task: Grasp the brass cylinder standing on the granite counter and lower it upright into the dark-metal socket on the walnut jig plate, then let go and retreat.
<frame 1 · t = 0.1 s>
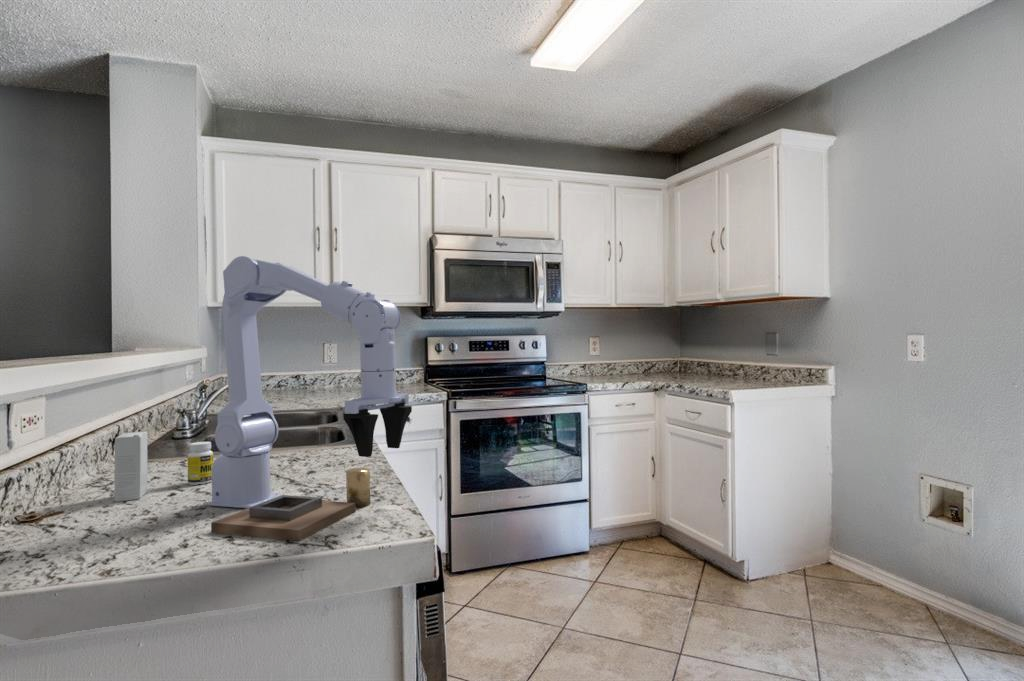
hand: (379, 451, 92), 10 cm above the counter, fingers open, 7 cm apart
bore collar: (286, 507, 87), on the jig plate, point 2 cm above the counter
jig plate: (287, 521, 87), on the counter
skincare box: (132, 498, 105), on the counter
supplement bottle: (200, 483, 116), on the counter
brass cylinder: (358, 504, 96), on the counter
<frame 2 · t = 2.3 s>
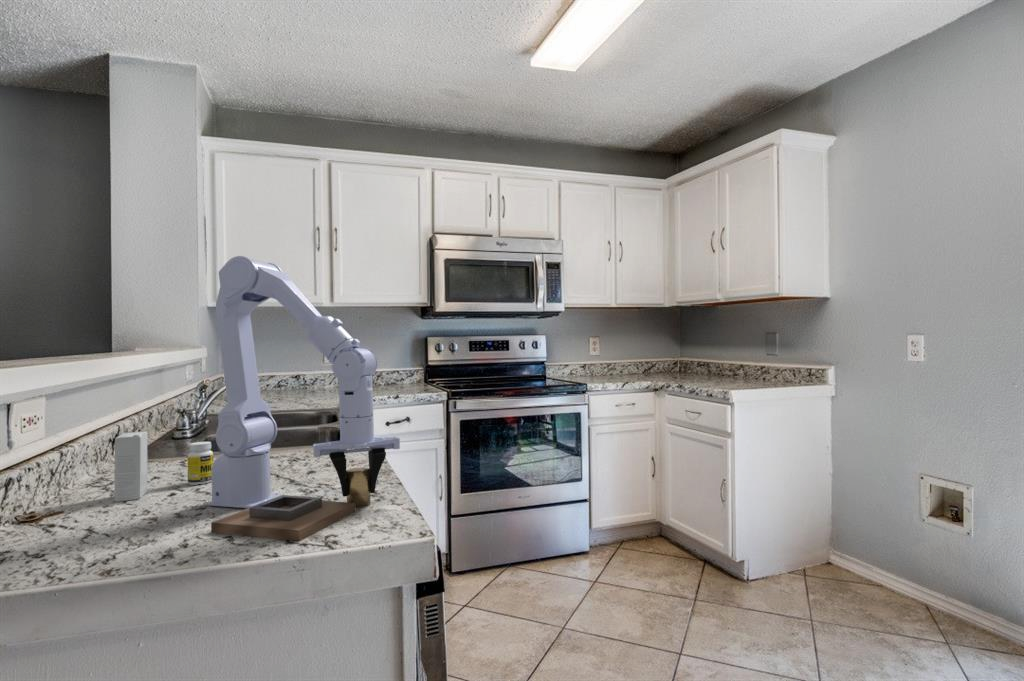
hand: (358, 493, 96), 2 cm above the counter, fingers closed on brass cylinder, 4 cm apart
brass cylinder: (358, 504, 96), on the counter, touching gripper
everything else where it was.
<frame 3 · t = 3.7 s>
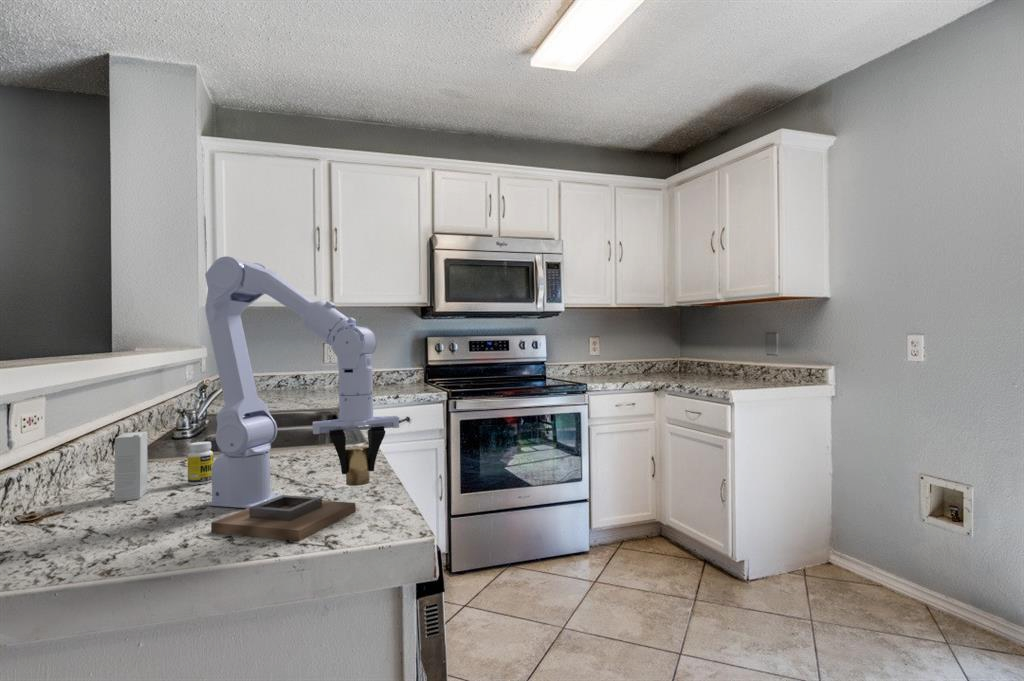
hand: (357, 471, 96), 6 cm above the counter, fingers closed on brass cylinder, 4 cm apart
brass cylinder: (358, 482, 96), point 4 cm above the counter, touching gripper
everything else where it was.
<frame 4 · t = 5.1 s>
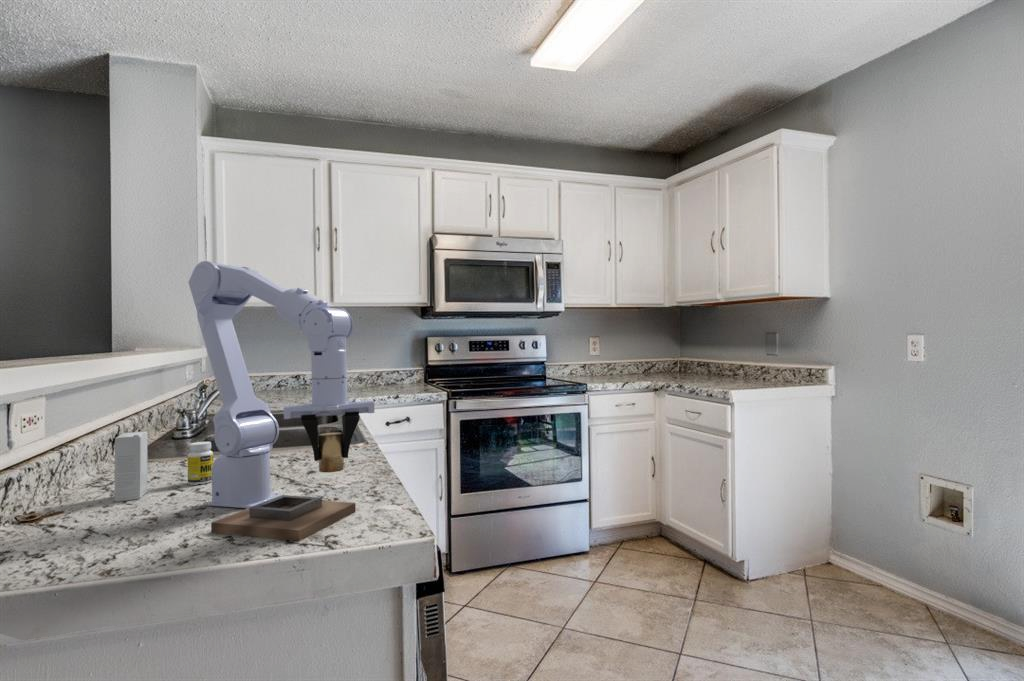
hand: (331, 458, 93), 9 cm above the counter, fingers closed on brass cylinder, 4 cm apart
brass cylinder: (331, 469, 93), point 7 cm above the counter, touching gripper
everything else where it was.
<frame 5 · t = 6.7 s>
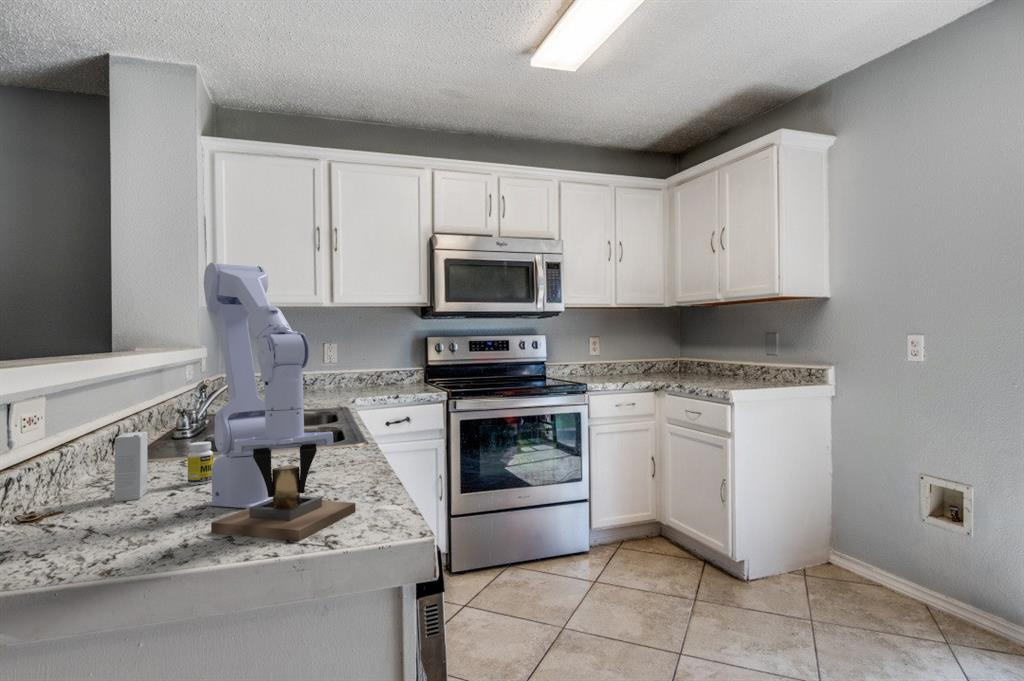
hand: (286, 493, 87), 4 cm above the counter, fingers closed on brass cylinder, 4 cm apart
brass cylinder: (286, 506, 87), point 2 cm above the counter, touching gripper
everything else where it was.
when the fingers open (4 cm above the counter, at t = 8.0 s): brass cylinder stays where it is, resting on jig plate.
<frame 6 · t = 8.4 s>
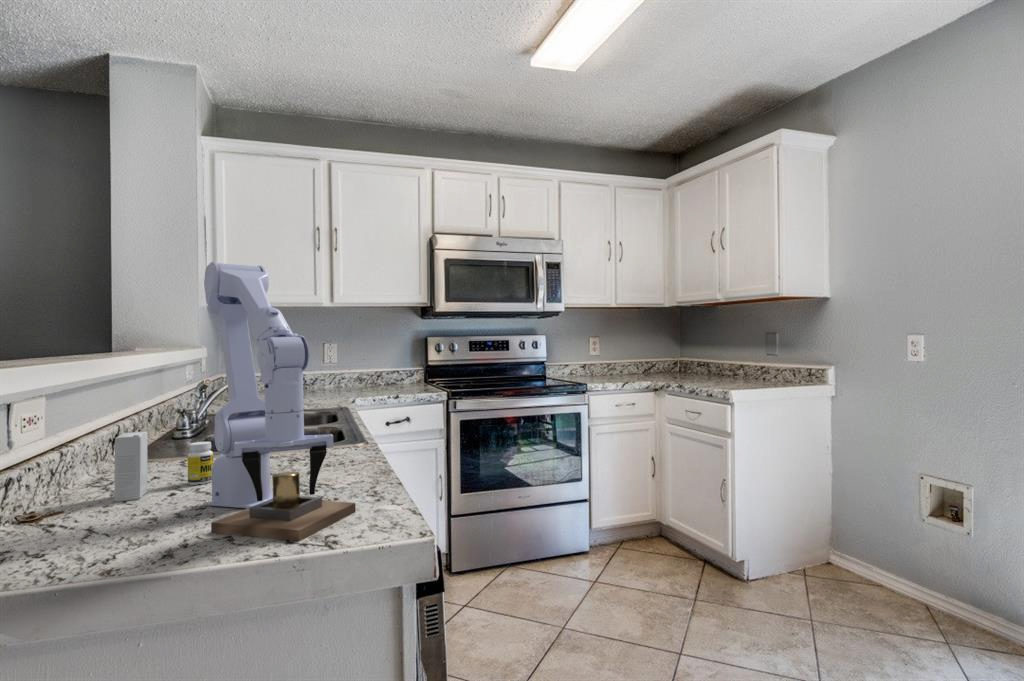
hand: (286, 496, 87), 4 cm above the counter, fingers open, 7 cm apart
brass cylinder: (286, 512, 87), point 2 cm above the counter, touching jig plate
everything else where it was.
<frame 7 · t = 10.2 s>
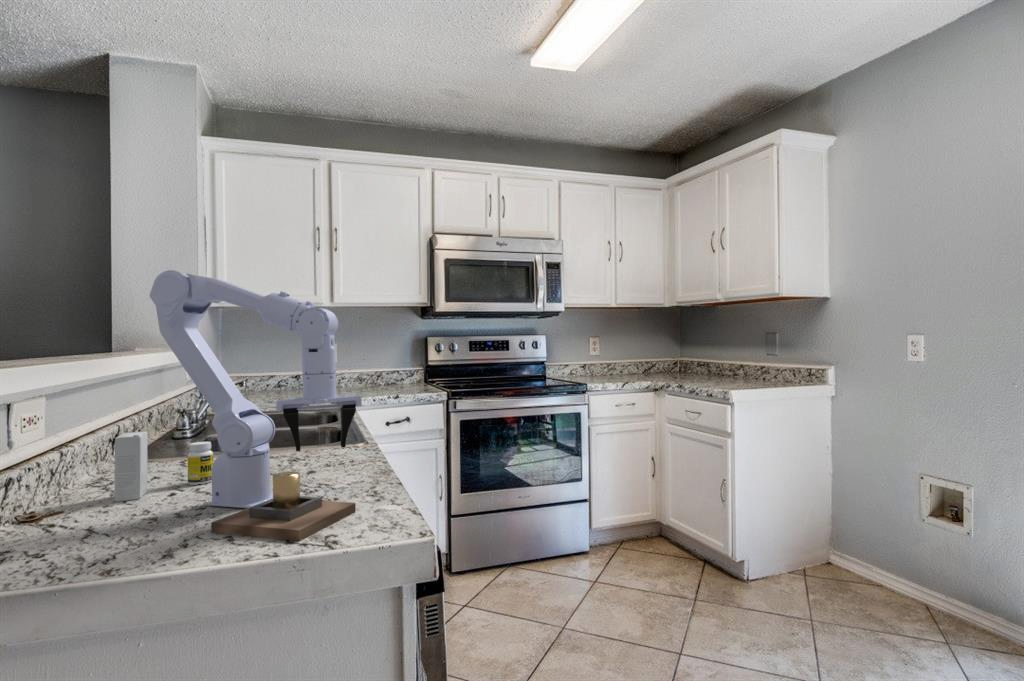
hand: (321, 448, 99), 9 cm above the counter, fingers open, 7 cm apart
nothing on the counter moved.
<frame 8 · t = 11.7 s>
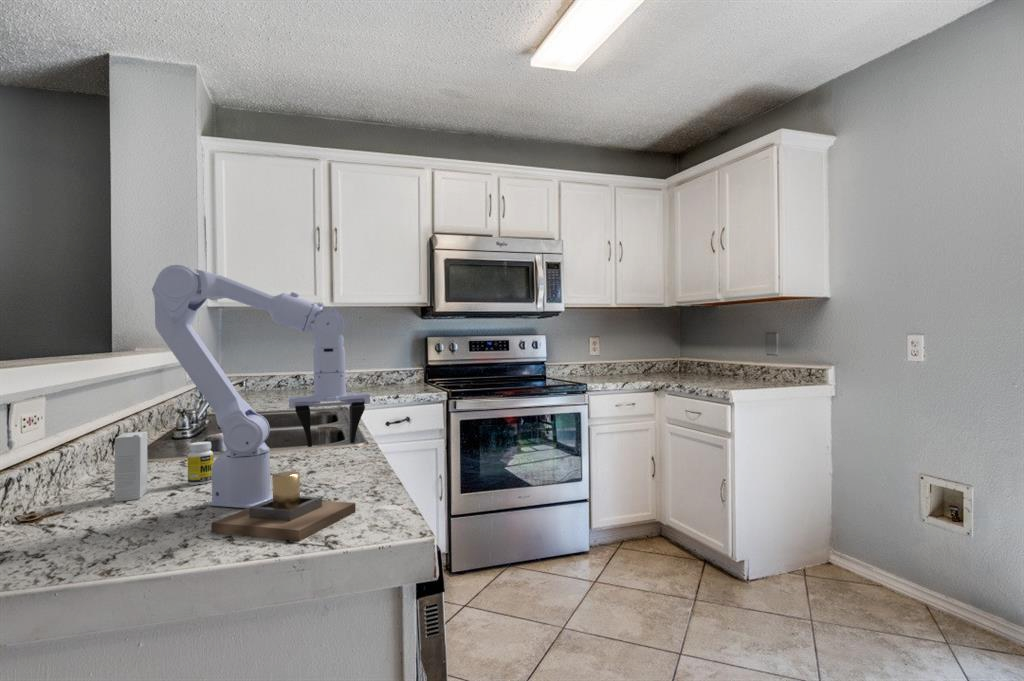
hand: (331, 444, 104), 9 cm above the counter, fingers open, 7 cm apart
nothing on the counter moved.
at the end: brass cylinder 0.1 cm off-centre on the jig plate, point 1.6 cm above the jig plate's base; brass cylinder tilted 2°; the gripper is holding nothing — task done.
